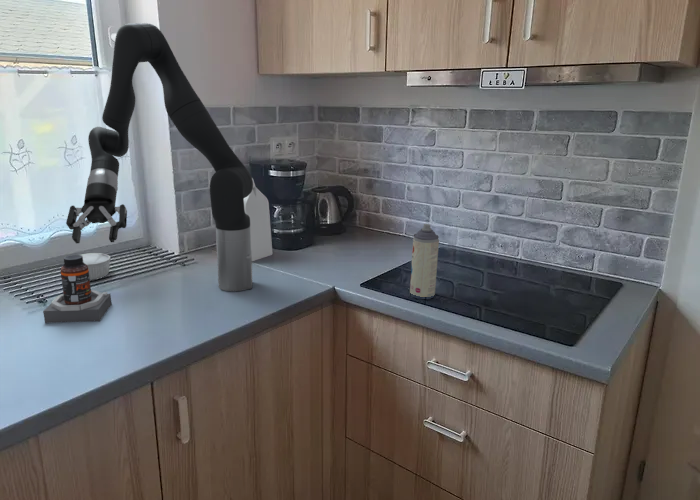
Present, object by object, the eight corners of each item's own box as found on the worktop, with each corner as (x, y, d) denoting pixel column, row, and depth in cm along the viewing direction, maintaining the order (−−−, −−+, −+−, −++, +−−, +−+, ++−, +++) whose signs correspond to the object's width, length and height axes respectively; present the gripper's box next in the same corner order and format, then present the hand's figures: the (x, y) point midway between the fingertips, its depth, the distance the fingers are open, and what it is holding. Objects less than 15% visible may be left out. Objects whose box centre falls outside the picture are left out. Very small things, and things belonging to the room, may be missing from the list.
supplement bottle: (80, 307, 124) (75, 261, 121) (58, 304, 125) (52, 259, 122) (97, 298, 130) (92, 254, 126) (76, 295, 131) (70, 252, 128)
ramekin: (118, 276, 154) (116, 258, 153) (78, 285, 146) (76, 267, 145) (102, 266, 161) (100, 250, 160) (63, 275, 154) (61, 258, 152)
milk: (221, 255, 175) (218, 177, 167) (247, 247, 184) (244, 173, 176) (247, 262, 168) (245, 181, 161) (272, 254, 177) (271, 177, 170)
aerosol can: (415, 289, 150) (420, 220, 144) (438, 294, 146) (443, 224, 140) (405, 296, 144) (409, 225, 138) (428, 301, 141) (434, 229, 135)
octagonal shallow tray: (112, 304, 134) (110, 289, 133) (99, 321, 124) (97, 305, 123) (61, 305, 132) (59, 290, 131) (44, 323, 122) (42, 307, 121)
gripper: (68, 181, 139) (59, 235, 131) (125, 180, 141) (119, 233, 133) (78, 197, 146) (70, 249, 138) (132, 196, 147) (127, 247, 140)
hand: (94, 241), depth 136 cm, fingers open, 8 cm apart
